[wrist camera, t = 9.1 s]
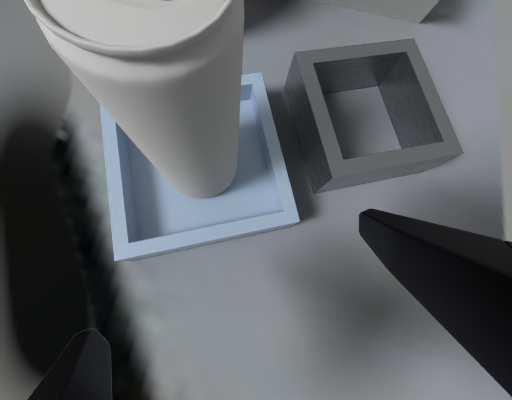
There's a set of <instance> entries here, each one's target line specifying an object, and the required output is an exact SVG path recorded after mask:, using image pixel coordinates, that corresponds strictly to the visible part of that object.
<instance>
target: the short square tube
mask: <svg viewBox="0 0 512 400" xmlns="http://www.w3.org/2000/svg"><path fill="white" fill-rule="evenodd" d="M372 86H378V87H379V89H380V92H381V95H382V97H383V100H384V103H385V105H386V108H387V111H388V113H389V116H390V119H391V121H392V124H393V127H394V129H395V132H396V135H397V137H398V140H399V143H400V145H401V148H402V149H400V150H394V151H389V152H383V153H378V154H372V155H367V156H361V157H356V158H350V159H345V160H343V157H342V154H341V150H340V147H339V144H338V141H337V138H336V135H335V131H334V128H333V125H332V122H331V119H330V116H329V113H328V109H327V106H326V103H325V100H324V97H323V94H322V93H329V92H336V91H343V90H350V89H357V88H364V87H372ZM284 89H285V92H286V96H287V99H288V103H289V106H290V110H291V113H292V117H293V121H294V124H295V128H296V131H297V135H298V138H299V142H300V146H301V149H302V153H303V156H304V160H305V163H306V167H307V170H308V174H309V178H310V181H311V185H312V188H313V192H314V193H319V192H324V191H329V190H334V189H339V188H344V187H349V186H354V185H359V184H365V183H370V182H375V181H380V180H385V179H390V178H395V177H400V176H405V175H410V174H415V173H420V172H424V171H426V170H428V169H430V168H432V167H434V166H437V165H439V164H441V163H443V162H445V161H447V160H450V159H452V158H454V157H456V156H458V155H460V154H463V151H462V148H461V146H460V144H459V142H458V139H457V137H456V135H455V132H454V130H453V128H452V125H451V123H450V121H449V118H448V116H447V114H446V111H445V109H444V107H443V104H442V102H441V100H440V97H439V95H438V93H437V91H436V88H435V86H434V84H433V81H432V79H431V77H430V74H429V72H428V70H427V67H426V65H425V63H424V60H423V58H422V56H421V53H420V51H419V49H418V46H417V44H416V42H415V40H414V39H405V40H397V41H388V42H379V43H370V44H362V45H353V46H344V47H336V48H327V49H318V50H310V51H301V52H295V53H294V56H293V60H292V63H291V67H290V70H289V73H288V77H287V80H286V83H285V87H284Z"/></svg>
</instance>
